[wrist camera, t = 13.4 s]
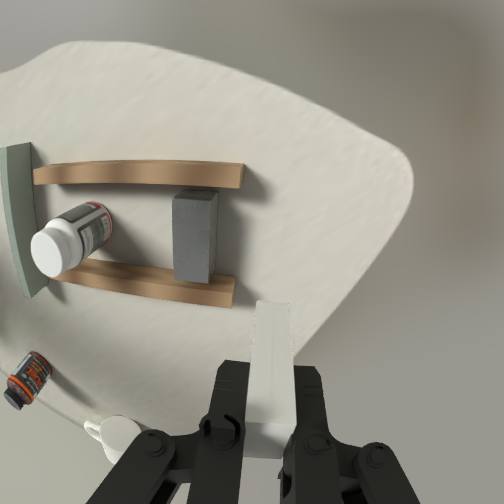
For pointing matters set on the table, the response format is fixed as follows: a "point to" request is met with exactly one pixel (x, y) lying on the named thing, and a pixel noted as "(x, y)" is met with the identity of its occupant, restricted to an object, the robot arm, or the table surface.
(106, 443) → the mug
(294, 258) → the table surface
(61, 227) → the pill bottle
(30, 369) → the supplement bottle
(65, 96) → the table surface
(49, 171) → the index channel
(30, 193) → the door edge rail
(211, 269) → the tall gray brick
